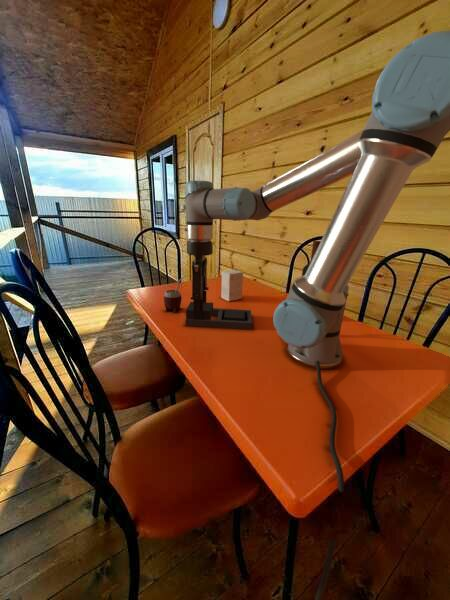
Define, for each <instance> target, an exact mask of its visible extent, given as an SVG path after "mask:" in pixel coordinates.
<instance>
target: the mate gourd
mask: <svg viewBox="0 0 450 600" xmlns="http://www.w3.org/2000/svg"><path fill="white" fill-rule="evenodd" d="M186 277H187V276H186V275H184V276H182V277H181V278H180V279H179V280H178V281H177V284H176V288H175V289H168V290H166V291H165V292H164V294H163V303H164V308H165V312H166V313H167V312H173V313H174V314H175V313H177V311H180V310H181V304H182V299H183V298H182V293H181V291H179V286H180V284H181V282H182V280H183V279H185V278H186Z"/></svg>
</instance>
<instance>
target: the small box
mask: <svg viewBox="0 0 450 600" xmlns="http://www.w3.org/2000/svg"><path fill="white" fill-rule="evenodd" d="M243 283H244V272H243V271H241V270H237V269H231V270H223V271H221V293H220V294H221V295H220V296H221V297H220V298H221V299H223V300H225V301H227V302H232V301H237V300H241V299H243Z"/></svg>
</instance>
